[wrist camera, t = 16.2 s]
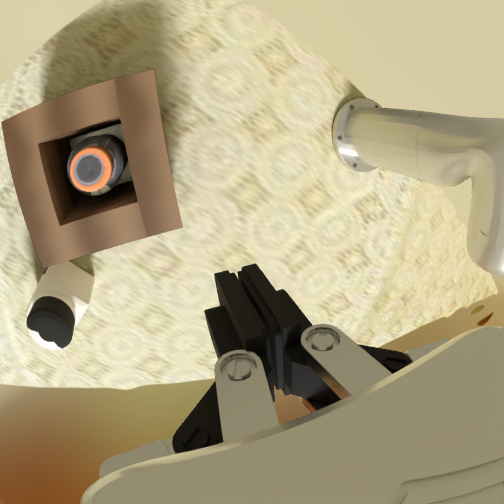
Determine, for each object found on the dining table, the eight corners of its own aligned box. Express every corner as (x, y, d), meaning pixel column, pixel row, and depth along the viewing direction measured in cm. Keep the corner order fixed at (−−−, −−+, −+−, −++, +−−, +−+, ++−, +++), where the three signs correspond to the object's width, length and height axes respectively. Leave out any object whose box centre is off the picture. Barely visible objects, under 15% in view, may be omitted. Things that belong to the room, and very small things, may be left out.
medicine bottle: (55, 250, 34) (31, 295, 24) (95, 277, 38) (85, 328, 28) (37, 287, 35) (14, 337, 25) (75, 310, 39) (63, 365, 28)
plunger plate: (125, 122, 32) (125, 122, 31) (136, 177, 35) (136, 179, 34) (71, 139, 30) (69, 139, 29) (84, 193, 33) (82, 195, 32)
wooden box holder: (150, 87, 31) (154, 69, 21) (170, 198, 38) (182, 227, 27) (40, 121, 27) (1, 122, 17) (67, 228, 34) (43, 268, 24)
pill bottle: (126, 181, 34) (120, 203, 24) (82, 181, 32) (59, 204, 22) (130, 134, 32) (124, 136, 22) (84, 134, 29) (60, 137, 20)
